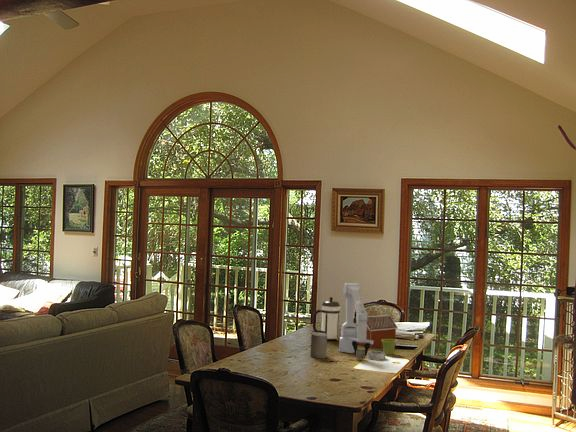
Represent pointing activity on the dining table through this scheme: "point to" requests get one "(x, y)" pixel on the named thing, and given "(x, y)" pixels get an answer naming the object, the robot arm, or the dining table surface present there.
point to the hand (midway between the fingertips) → (360, 354)
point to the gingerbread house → (380, 330)
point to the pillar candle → (318, 345)
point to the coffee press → (329, 319)
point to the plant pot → (388, 346)
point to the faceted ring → (376, 355)
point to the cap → (360, 353)
